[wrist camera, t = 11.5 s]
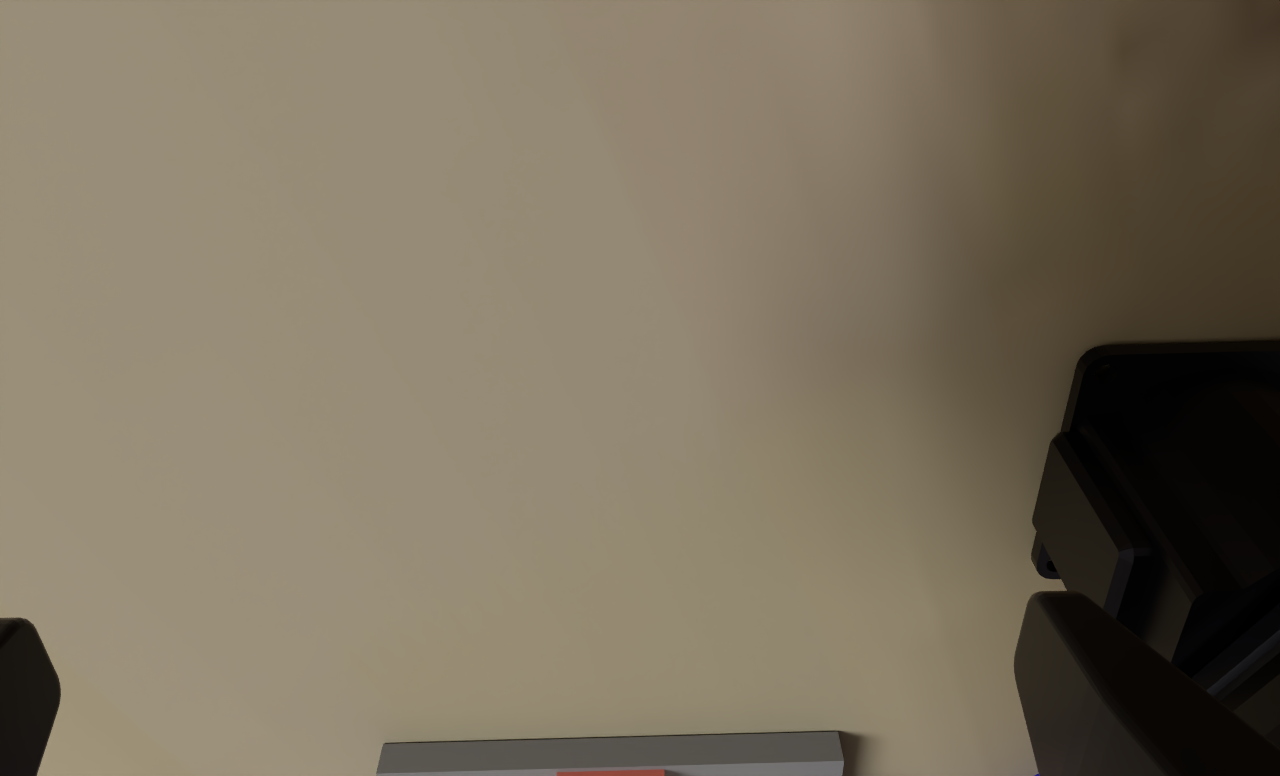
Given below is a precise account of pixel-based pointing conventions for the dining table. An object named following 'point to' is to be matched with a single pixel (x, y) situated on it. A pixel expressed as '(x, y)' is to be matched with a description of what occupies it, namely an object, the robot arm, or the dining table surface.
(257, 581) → the dining table surface
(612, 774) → the socket plate
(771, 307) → the dining table surface
